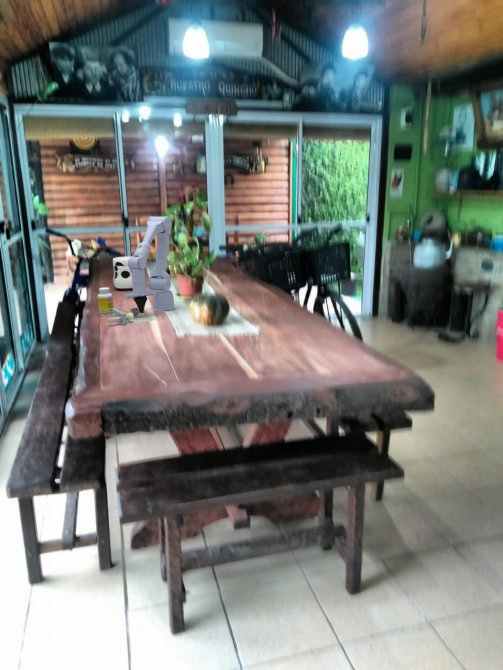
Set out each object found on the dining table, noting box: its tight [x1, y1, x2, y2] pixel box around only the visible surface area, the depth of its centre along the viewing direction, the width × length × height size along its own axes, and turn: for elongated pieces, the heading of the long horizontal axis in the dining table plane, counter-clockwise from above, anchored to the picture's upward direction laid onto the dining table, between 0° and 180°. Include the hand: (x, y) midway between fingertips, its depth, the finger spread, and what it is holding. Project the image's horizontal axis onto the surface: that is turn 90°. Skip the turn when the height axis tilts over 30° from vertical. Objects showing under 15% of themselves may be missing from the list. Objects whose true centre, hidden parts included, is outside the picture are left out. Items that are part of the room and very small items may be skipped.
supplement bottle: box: [97, 287, 114, 317], centre depth 243 cm, size 7×7×13 cm
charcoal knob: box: [112, 307, 140, 318], centre depth 235 cm, size 11×4×4 cm, turn 123°
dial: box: [124, 308, 131, 321], centre depth 231 cm, size 2×2×5 cm
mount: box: [111, 307, 156, 326], centre depth 233 cm, size 15×14×6 cm
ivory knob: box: [106, 313, 134, 324], centre depth 226 cm, size 11×4×4 cm, turn 123°
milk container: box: [112, 255, 133, 291], centre depth 304 cm, size 17×17×18 cm
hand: (141, 312), depth 239 cm, fingers closed
